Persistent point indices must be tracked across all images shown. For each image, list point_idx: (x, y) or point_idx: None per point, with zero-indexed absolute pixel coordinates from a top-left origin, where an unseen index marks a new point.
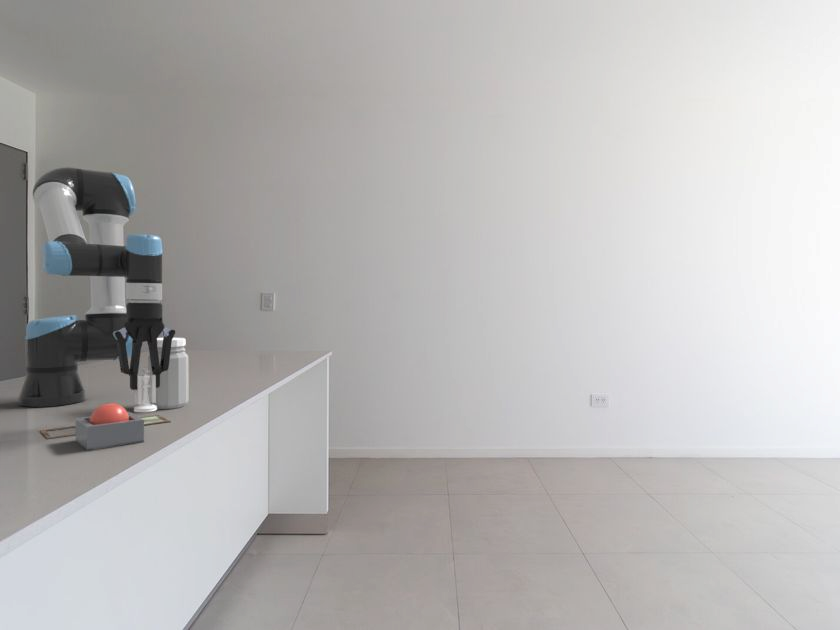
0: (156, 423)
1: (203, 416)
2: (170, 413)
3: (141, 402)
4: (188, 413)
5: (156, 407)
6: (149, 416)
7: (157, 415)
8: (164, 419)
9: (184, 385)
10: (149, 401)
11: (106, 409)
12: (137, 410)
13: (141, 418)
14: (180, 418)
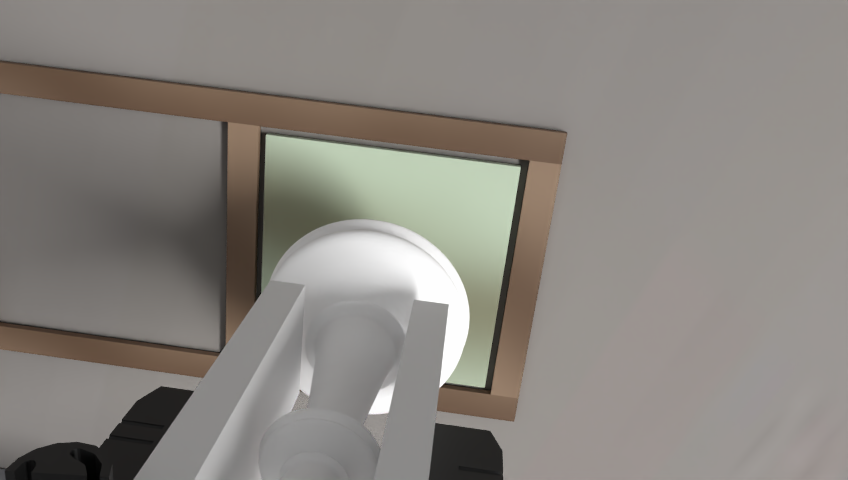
0: None
1: (804, 420)
2: (704, 101)
3: (293, 401)
4: (811, 226)
5: (444, 381)
6: (477, 138)
7: (548, 148)
8: (509, 341)
9: None
10: (387, 376)
11: None
12: None
13: (390, 168)
14: (637, 357)
